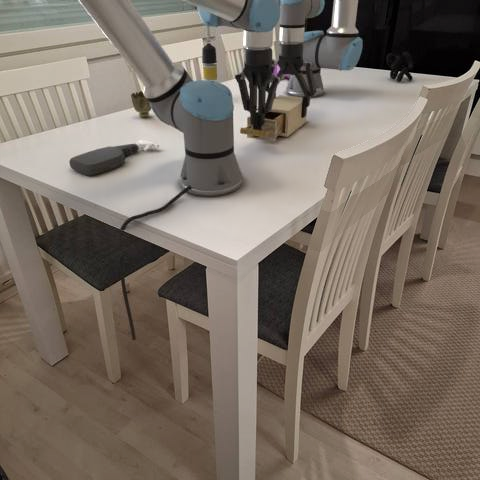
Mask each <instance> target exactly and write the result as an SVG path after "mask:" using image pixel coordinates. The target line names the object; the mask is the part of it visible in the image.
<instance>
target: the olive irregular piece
mask: <svg viewBox="0 0 480 480" xmlns="http://www.w3.org/2000/svg"><path fill="white" fill-rule="evenodd" d="M130 98H131V103H132V106H133V109H134V111H136V112H137V113H138V116H139V117H140V118H147V117H149V116H150V111H152V108H151V105H150V102H149V101H148V100H147V98H146V97H145V96H144V93H143V90H140V91H138V92H137V91H135V92H133V93H131V94H130Z"/></svg>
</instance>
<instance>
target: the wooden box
mask: <svg viewBox="0 0 480 480" xmlns="http://www.w3.org/2000/svg"><path fill="white" fill-rule="evenodd" d="M270 112H278V113H286V119H285V131H284V132H282V133H281V134H280V135H278V136H280V137H286V138H287V137H289V136H291V134H293V133H294V132H295V131H298V129H299V128H300V127H302V126H303V125H305V123H307V119H308V116H307V115H308V109H307V110H306V116H305V117H304V118H301V113H302V97H294V96H290V95H283V94H278V95H276V97H275V98H274V101H273V105H272V109H271V111H270Z"/></svg>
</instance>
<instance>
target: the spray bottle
mask: <svg viewBox="0 0 480 480" xmlns="http://www.w3.org/2000/svg"><path fill="white" fill-rule="evenodd" d="M159 148H160V145H159V144H158V143H155V142H151V141H148V140H144V139H139V140H138V141H137V142H135V143H129V144H128V143H126V144H122V145H113V146H105V147H100V148H97V149H94V150H90V151H87V152H83V153H81V154H78V155H74V156H73V157H70V159H69V161H68V162H69V167H70V168H71V169H72V170H74V171H75V172H78V173H81V174H83V175H85V176H89V177H90V176H91V177H92V176H95V175H99V174H102V173H105V172H107V171H110V170H113V169H116V168H118V167H120V166H122V165H123V164H124V163H125V158H126V156H127V155H131V154H133V153H138V151H140V150H143V151H144V152H146V151H147V150H149V149H159Z"/></svg>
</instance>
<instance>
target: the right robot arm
mask: <svg viewBox="0 0 480 480" xmlns="http://www.w3.org/2000/svg"><path fill="white" fill-rule="evenodd" d="M278 2H279V5H280V17H279V31H278V32H279V34H278V41H279V44H278V59H274V58H272V69H273V73H274V70H275V67H276V66H277V67H278V66H279V67H280V70H279V72H278V71H277V73H278V74H277V77H279V76H280V77H281V78H282V76H283V75H284V74H286V75H287V74H290V75H291V76H290V77H286V76H285V80H288V83H287V85H286V87H285V92H286V95H287V96H294V97H302V113H301V118H304V117H305V116H306V110H307V111H308V108H309V107H310V105H311V98H316V97H321V96H322V95H324V92H325V88H324V84H323V78H322V75H321V71H322V69H325V70H336V71H337V70H338V71H339V72H342V71H352V70H353V69H354V68H355V67H356V66H357V64H358V62H359V60H360V58H361V55H362V51H363V47H364V44H363V39H362V38H361V37H360V36H359V30H358V29H357V27H356V22H357V13H358V4H359V0H333V4H332V5H333V6H332V15H331V26H330V27H329V28H328V29H327V30H326V35H325V33H324V30H312V31H305V29H306V28H305V24H306V19H313V18H315V17H318V16H319V15H320V14H321V13H322V12H323V10H324V8H325V3H326V2H325V0H278ZM270 85H271V78H270V79H269V80H268V82H267V86H266V93H268V92H269V88H270ZM275 97H277V92H276V93H275ZM275 97H274V98H275Z"/></svg>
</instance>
